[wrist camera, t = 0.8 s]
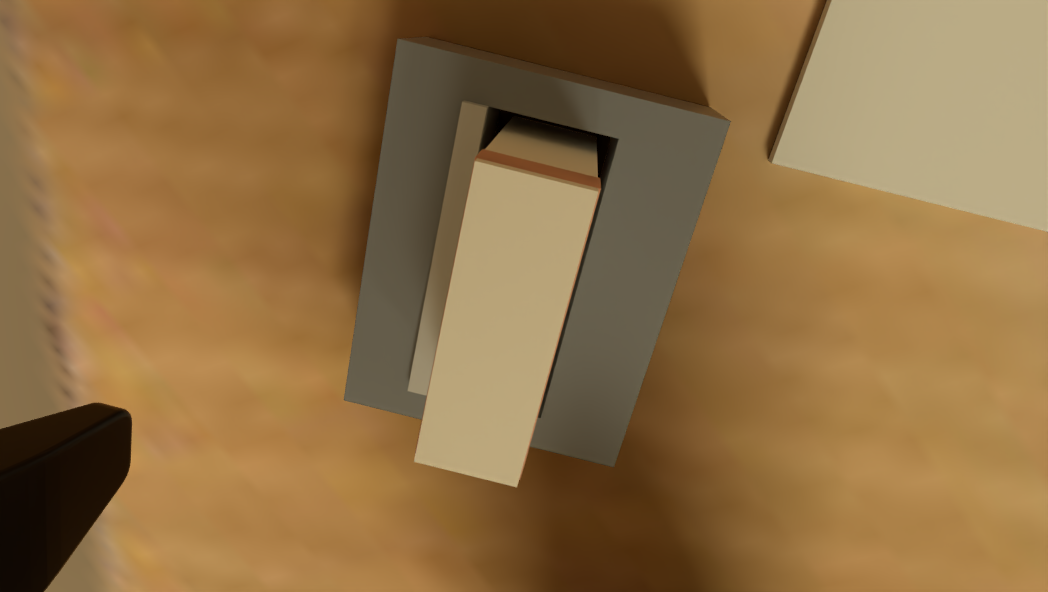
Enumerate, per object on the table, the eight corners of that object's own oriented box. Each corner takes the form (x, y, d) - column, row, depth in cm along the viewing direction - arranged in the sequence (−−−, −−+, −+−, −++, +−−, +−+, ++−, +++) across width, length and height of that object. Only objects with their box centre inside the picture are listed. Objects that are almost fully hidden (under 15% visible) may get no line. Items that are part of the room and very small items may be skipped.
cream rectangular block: (540, 352, 22) (519, 487, 16) (464, 333, 22) (411, 461, 16) (598, 136, 19) (600, 193, 13) (512, 115, 19) (472, 160, 13)
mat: (1046, 229, 19) (1055, 233, 19) (767, 160, 19) (771, 163, 19) (1219, -89, 16) (1233, -91, 16) (889, -171, 16) (896, -176, 16)
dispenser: (610, 413, 23) (613, 473, 20) (374, 353, 23) (340, 405, 20) (710, 107, 19) (733, 123, 16) (425, 36, 19) (394, 38, 16)
